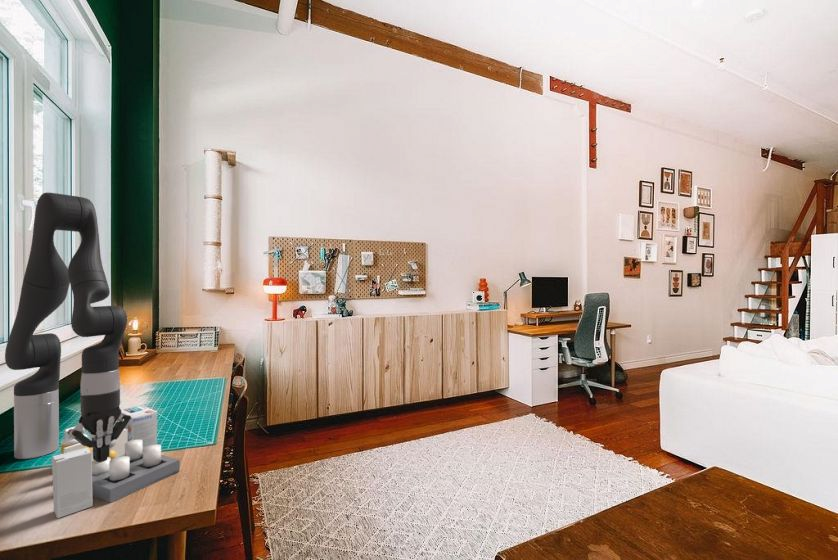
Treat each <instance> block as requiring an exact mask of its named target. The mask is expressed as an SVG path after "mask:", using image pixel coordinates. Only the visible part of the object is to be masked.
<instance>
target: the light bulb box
mask: <svg viewBox="0 0 838 560" xmlns="http://www.w3.org/2000/svg"><path fill="white" fill-rule="evenodd" d="M121 413H122V414H125V415H129V416H131V419H130V420H129V422H128V423H127V425H126V427H125V428H124V429H127V433H128V441H132V440H142V445H143V448H145V447H147V446H150V445H158V411H157V410H154V409H152V408H149V407H147V406H144V405H142V404H141V405H137V406H133V407H128V408H125V409H121Z"/></svg>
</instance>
